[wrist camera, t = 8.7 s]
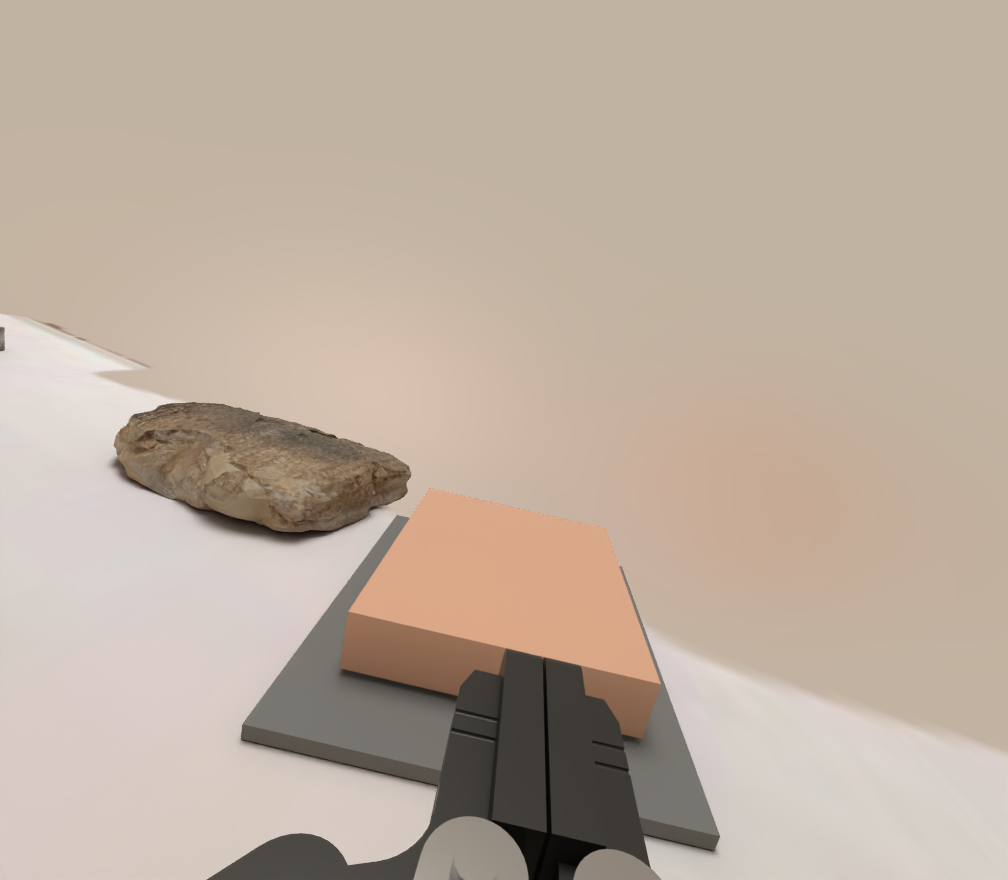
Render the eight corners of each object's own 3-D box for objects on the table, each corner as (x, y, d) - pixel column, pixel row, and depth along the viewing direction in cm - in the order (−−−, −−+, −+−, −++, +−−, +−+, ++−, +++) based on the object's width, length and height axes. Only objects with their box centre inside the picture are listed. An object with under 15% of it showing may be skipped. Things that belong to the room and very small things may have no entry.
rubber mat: (240, 739, 17) (242, 724, 17) (395, 522, 35) (397, 515, 35) (714, 850, 16) (719, 836, 16) (619, 574, 35) (621, 566, 35)
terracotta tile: (348, 611, 19) (429, 488, 34) (337, 674, 20) (422, 526, 34) (660, 684, 19) (605, 528, 33) (640, 745, 19) (594, 566, 34)
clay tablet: (50, 461, 34) (288, 559, 28) (53, 390, 33) (299, 475, 27) (228, 437, 47) (414, 500, 41) (233, 386, 46) (425, 443, 40)
